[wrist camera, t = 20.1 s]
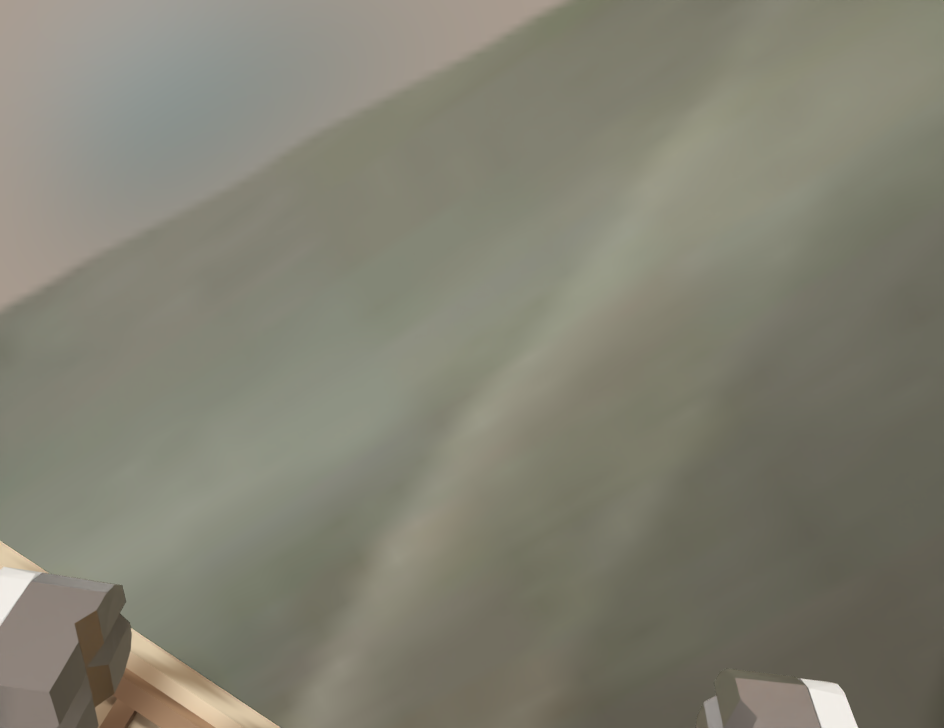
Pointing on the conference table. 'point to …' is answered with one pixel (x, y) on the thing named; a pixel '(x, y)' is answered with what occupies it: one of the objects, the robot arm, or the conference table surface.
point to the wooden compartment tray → (160, 687)
